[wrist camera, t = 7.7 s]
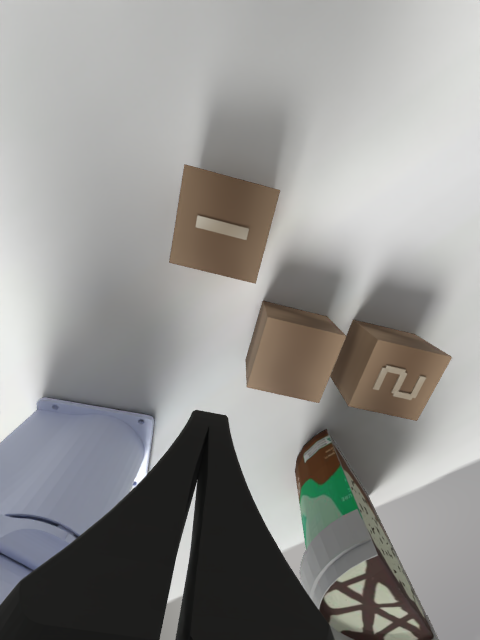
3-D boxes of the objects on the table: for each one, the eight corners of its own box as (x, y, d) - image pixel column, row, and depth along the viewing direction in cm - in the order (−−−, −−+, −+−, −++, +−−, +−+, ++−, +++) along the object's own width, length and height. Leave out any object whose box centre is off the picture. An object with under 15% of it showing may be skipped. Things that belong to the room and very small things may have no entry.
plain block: (245, 359, 21) (246, 387, 18) (262, 300, 20) (267, 316, 16) (305, 372, 22) (319, 403, 18) (326, 316, 20) (346, 335, 16)
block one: (183, 255, 19) (168, 262, 15) (196, 178, 17) (184, 164, 13) (252, 272, 19) (255, 283, 15) (271, 198, 18) (280, 189, 14)
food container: (256, 446, 24) (267, 588, 15) (318, 416, 23) (373, 548, 14) (318, 528, 27) (358, 686, 18) (374, 505, 26) (449, 660, 17)
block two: (329, 375, 22) (349, 407, 18) (352, 318, 20) (378, 340, 16) (387, 388, 22) (417, 421, 18) (413, 333, 21) (453, 357, 17)
